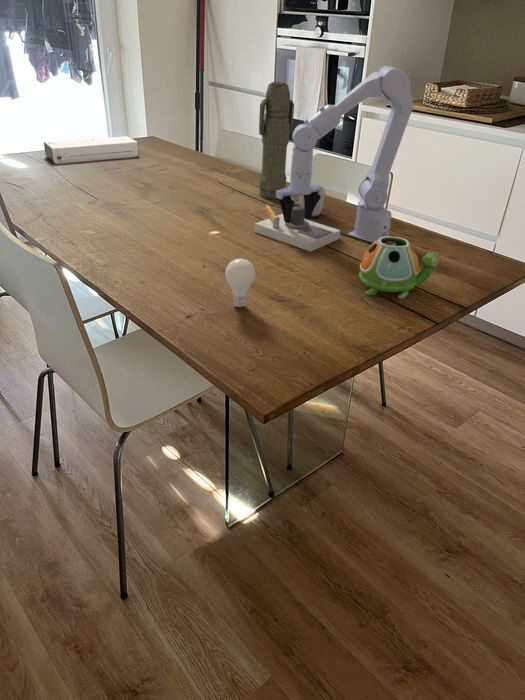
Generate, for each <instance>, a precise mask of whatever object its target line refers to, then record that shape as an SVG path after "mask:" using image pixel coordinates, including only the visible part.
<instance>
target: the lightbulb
mask: <svg viewBox="0 0 525 700" xmlns="http://www.w3.org/2000/svg"><path fill="white" fill-rule="evenodd" d="M224 275H225V276H224V277H225V280H226V282H227V283H228V285H229V286H230V288H231V293H232V295H233V301H232V302H233V306H235V307H237V308H240V309H241V308H244V307H245V306H246V304H247V303H246V300H247V294H248V290H249V289H250V287H251V285H253V283H254V281H255V279H256V269H255V266H254V265H253V263H252V262H251V261H250V260H248V259H246V258H242V257H241V258H235V259H233V260H231V261H230V262H229V263H228V264H227V266H226V268H225V272H224Z"/></svg>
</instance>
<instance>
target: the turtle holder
mask: <svg viewBox="0 0 525 700" xmlns="http://www.w3.org/2000/svg"><path fill="white" fill-rule="evenodd" d="M388 242H393V244H386V243H388ZM410 244H411V243H410V242H409V240H408V239H406V238H403V237H398V236H389V237H381V238H379V239H378V240H377V241H376V242H374V243H372V244H371V245H370V246H369V247H368V249H367V250H366V251H365V253H364V255H363V256H362V257H363V258H362V260H361V262H360V263H359V273H358V277H359V280H360V282H361V283H362V284H363V285H365V286H366V287H368V288H369V289H367V290H365V292H364V294H365V295H367V296H376V295H377V293H378V292H379V291H381V292H388V293H399V294H397V296H396V297H397V299H398V300H405V299H406V298H407V297H408V295H409V293H410V291H411V290H413V289H414V288H415V287H416V285H420V284H421V285H422V284H423V283H425V282H426V281H427V280H428V279H430V277H431V275H432V274H433V272H434V269H436V268H437V267H438V266H439V264H440V261H439V260H440V259H439V254H438V252H432V251H429V252H428V253H426V254H425V255H424V256H423V257H422V260H421V261H422V266H421V269H420V271H419V267H420V266H419V258H418V256H417V253H416V251H415V250H414V248H413V247H412V245H410Z"/></svg>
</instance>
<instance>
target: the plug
mask: <svg viewBox="0 0 525 700" xmlns="http://www.w3.org/2000/svg"><path fill="white" fill-rule="evenodd" d="M304 219H306V218H305V208H303V207H300V206H293V208H292V213H291V221H290V223H286V222H285V225H286V226H287V227H290V228H294V229H298V230H299V229H303V228H306V227H308V226H309V222H308V221H306V220H307V219H306V220H304Z"/></svg>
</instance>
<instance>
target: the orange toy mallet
mask: <svg viewBox="0 0 525 700" xmlns="http://www.w3.org/2000/svg"><path fill="white" fill-rule="evenodd" d="M265 212H266V213H267V214H268V217H269V218H271V219H272V221H273V228H279V219H280V217H278V215H276V214H275V213H274V211H273V209H272V208H271V207H270V205H268V204H266V205H265Z"/></svg>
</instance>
